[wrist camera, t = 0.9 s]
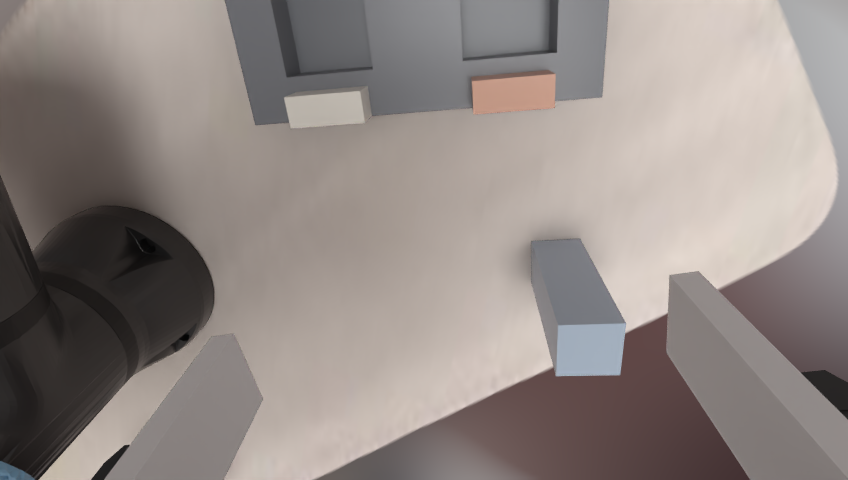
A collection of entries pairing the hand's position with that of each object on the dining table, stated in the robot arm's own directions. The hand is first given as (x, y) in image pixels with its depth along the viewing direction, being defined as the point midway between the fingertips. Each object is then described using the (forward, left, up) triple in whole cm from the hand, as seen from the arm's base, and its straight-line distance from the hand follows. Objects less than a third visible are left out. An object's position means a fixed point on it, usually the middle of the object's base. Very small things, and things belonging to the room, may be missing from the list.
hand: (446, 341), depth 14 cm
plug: (+8, -11, -24) cm, 28 cm away
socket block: (-2, +9, -24) cm, 26 cm away
